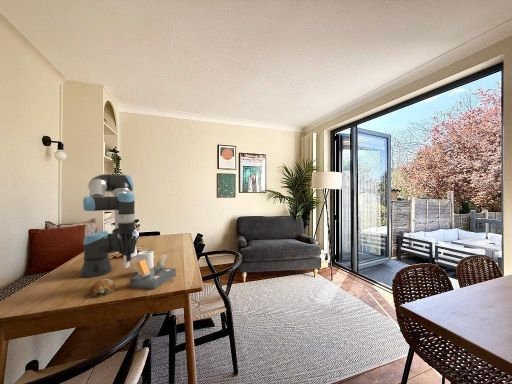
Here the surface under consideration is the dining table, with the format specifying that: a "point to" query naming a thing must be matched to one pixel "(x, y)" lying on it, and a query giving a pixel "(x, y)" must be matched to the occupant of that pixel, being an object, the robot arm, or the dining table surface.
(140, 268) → the orange and white block
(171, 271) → the panel
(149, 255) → the mug
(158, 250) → the dining table surface
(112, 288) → the bread roll
